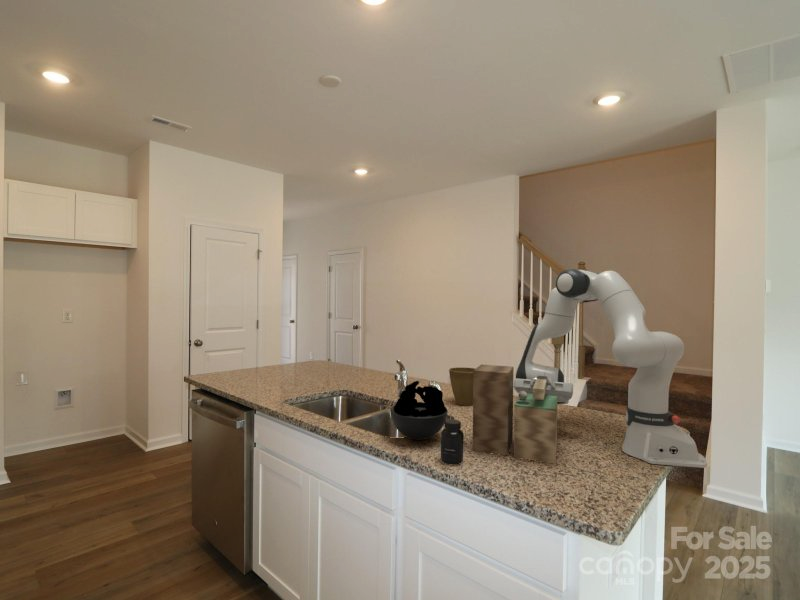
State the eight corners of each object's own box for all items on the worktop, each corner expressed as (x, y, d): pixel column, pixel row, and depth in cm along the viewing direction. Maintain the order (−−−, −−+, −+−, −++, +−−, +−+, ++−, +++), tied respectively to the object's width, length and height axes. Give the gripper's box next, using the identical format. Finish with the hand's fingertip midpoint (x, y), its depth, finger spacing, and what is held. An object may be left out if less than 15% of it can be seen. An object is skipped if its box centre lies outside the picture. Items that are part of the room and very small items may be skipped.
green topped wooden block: (556, 444, 140) (557, 387, 140) (555, 464, 123) (556, 399, 123) (520, 439, 145) (520, 384, 144) (513, 457, 128) (514, 395, 128)
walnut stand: (512, 442, 141) (513, 366, 141) (507, 456, 129) (508, 373, 129) (480, 438, 145) (481, 364, 145) (472, 451, 133) (473, 370, 133)
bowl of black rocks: (439, 451, 132) (440, 393, 132) (381, 444, 139) (382, 388, 139) (452, 432, 151) (453, 381, 151) (400, 426, 158) (401, 377, 158)
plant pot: (483, 408, 185) (484, 372, 185) (450, 407, 185) (450, 372, 185) (478, 400, 200) (478, 367, 200) (447, 399, 200) (447, 366, 200)
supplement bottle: (445, 466, 121) (445, 425, 121) (437, 457, 127) (437, 418, 127) (467, 464, 123) (467, 423, 123) (457, 455, 129) (458, 417, 129)
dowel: (547, 385, 146) (547, 376, 146) (543, 399, 125) (543, 389, 125) (537, 384, 147) (537, 375, 147) (532, 398, 127) (532, 388, 127)
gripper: (515, 382, 161) (512, 369, 149) (572, 387, 153) (573, 374, 142) (514, 398, 158) (510, 386, 147) (572, 404, 150) (573, 392, 139)
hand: (542, 380), depth 144 cm, fingers closed on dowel, 3 cm apart
